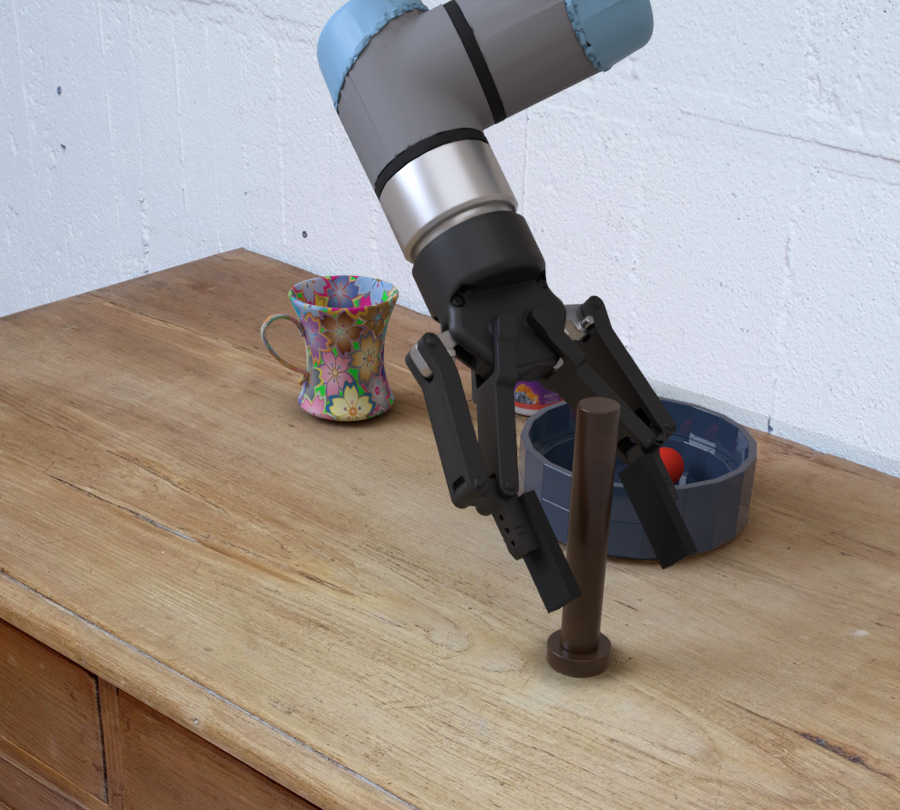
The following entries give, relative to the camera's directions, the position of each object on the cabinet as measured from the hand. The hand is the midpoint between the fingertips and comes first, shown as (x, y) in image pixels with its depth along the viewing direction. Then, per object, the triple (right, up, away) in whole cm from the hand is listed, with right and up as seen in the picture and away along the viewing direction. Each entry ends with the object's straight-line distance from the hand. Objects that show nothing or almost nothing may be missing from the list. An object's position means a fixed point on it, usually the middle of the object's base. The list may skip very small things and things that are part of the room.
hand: (624, 581), depth 76 cm
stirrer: (-2, -5, +6) cm, 8 cm away
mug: (-20, +15, +40) cm, 47 cm away
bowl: (+4, +6, +24) cm, 25 cm away
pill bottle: (-3, +16, +41) cm, 45 cm away
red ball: (+7, +9, +26) cm, 28 cm away
